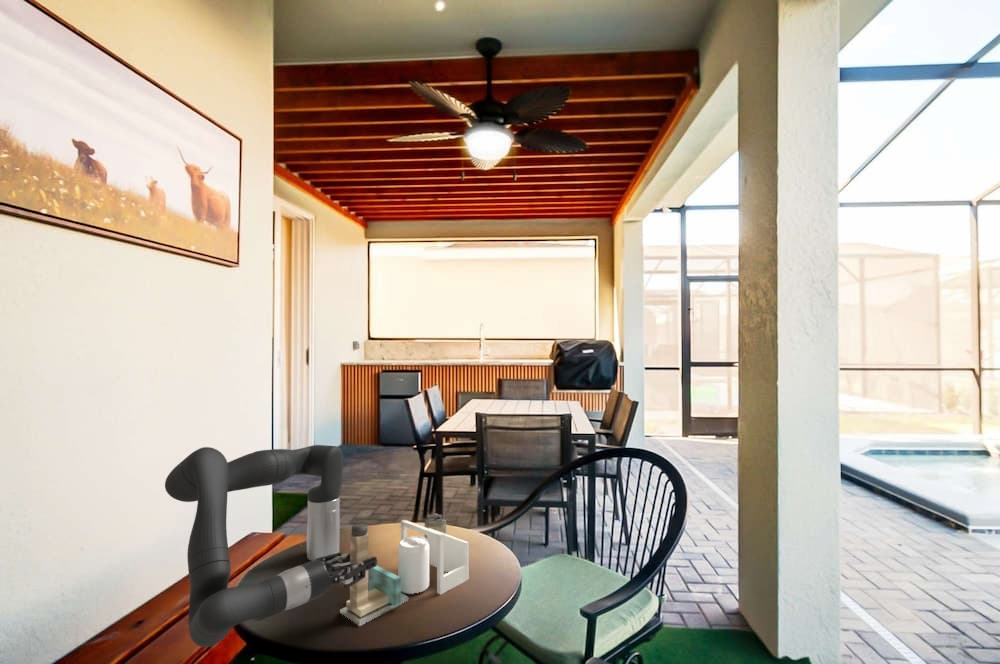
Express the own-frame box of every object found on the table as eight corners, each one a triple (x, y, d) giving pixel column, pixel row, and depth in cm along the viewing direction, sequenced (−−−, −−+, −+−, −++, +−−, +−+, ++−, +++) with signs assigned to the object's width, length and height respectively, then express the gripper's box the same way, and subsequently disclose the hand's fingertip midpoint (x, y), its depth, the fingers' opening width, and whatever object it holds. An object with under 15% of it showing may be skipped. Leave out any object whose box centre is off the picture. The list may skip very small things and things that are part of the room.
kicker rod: (339, 604, 112) (340, 523, 113) (374, 588, 120) (374, 512, 120) (365, 621, 105) (366, 534, 106) (400, 603, 113) (401, 522, 113)
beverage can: (402, 599, 117) (403, 550, 118) (394, 584, 124) (394, 539, 125) (433, 591, 121) (433, 544, 121) (423, 577, 128) (423, 533, 129)
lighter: (447, 544, 150) (447, 512, 151) (446, 549, 146) (445, 517, 147) (425, 544, 150) (425, 513, 151) (423, 549, 146) (423, 517, 147)
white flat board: (340, 613, 111) (340, 609, 111) (388, 590, 121) (388, 586, 121) (359, 626, 106) (359, 621, 106) (408, 600, 116) (408, 596, 116)
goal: (400, 575, 129) (400, 520, 130) (429, 562, 137) (429, 510, 138) (440, 595, 119) (440, 535, 120) (468, 579, 127) (468, 523, 128)
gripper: (317, 577, 95) (387, 549, 108) (285, 557, 104) (352, 534, 117) (317, 614, 95) (386, 582, 108) (284, 591, 104) (352, 564, 117)
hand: (368, 557), depth 112 cm, fingers open, 5 cm apart
